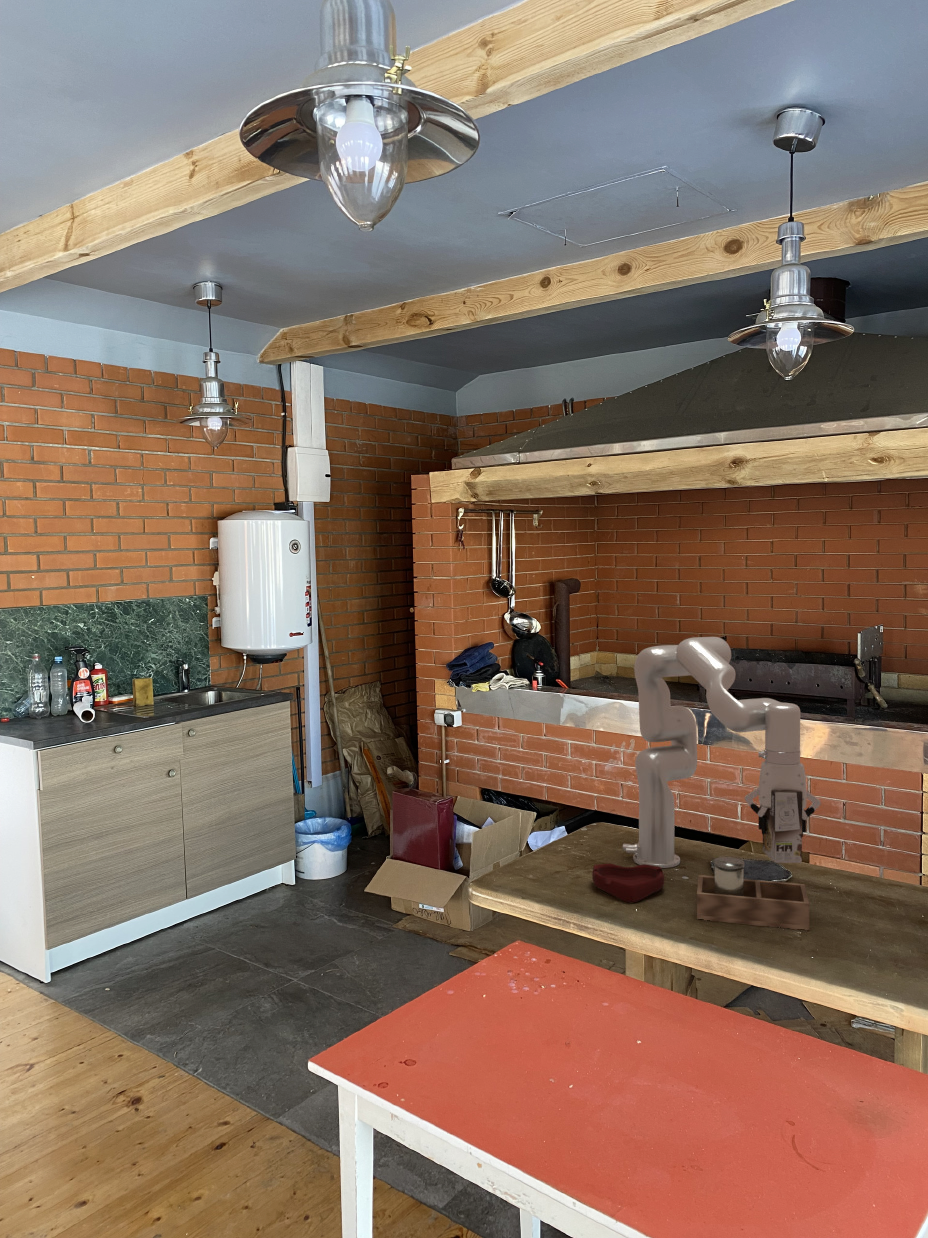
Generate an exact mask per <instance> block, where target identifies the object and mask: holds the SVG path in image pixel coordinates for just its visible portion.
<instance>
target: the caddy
mask: <svg viewBox="0 0 928 1238" xmlns="http://www.w3.org/2000/svg"><path fill="white" fill-rule="evenodd" d="M697 880H698V881H697V889H696V920H697V919H704V920H703V921H707V920H710V921H709V922H717V921H718V923H719V922H720V923H729V924H739V925H749V926H759V927H767V926H769V927H768V928H777V927H781V928H780V929H787V928H790V930H797V929H805V930H804V931H807V930H809V931H810V901H809V896H808V892H807V889H806V884H804V883H796V882H795V883H794V882H782V881H773V880H772V881H769V880H760V879H746V878H743V896H734V895H723V894H715V875H714V876H713V875H712V876H711V875H702V874H701V875H700V874H699V875H698V879H697Z"/></svg>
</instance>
